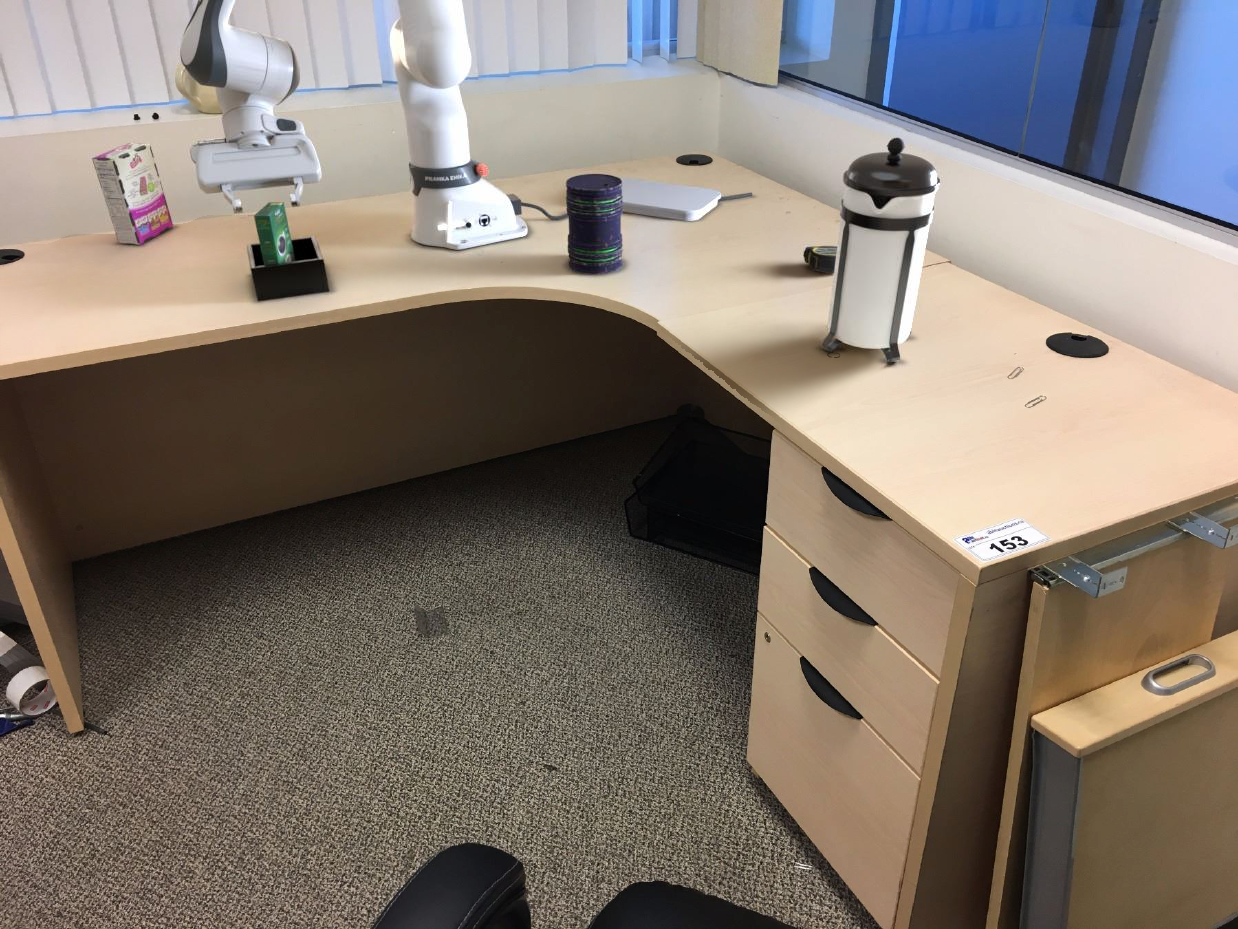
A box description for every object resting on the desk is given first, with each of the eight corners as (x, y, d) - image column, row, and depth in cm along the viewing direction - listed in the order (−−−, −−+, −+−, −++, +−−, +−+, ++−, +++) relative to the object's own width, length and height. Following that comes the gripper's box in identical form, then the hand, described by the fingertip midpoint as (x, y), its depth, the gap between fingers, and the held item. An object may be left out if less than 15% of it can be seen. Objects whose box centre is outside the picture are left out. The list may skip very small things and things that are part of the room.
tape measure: (839, 262, 170) (841, 242, 168) (850, 276, 164) (853, 255, 162) (802, 263, 170) (804, 243, 168) (811, 277, 164) (814, 256, 162)
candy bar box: (152, 225, 189) (128, 141, 180) (174, 227, 188) (152, 142, 179) (116, 244, 180) (90, 156, 171) (139, 245, 179) (114, 158, 170)
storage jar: (556, 265, 169) (553, 181, 161) (594, 251, 175) (593, 170, 167) (596, 279, 164) (594, 193, 156) (634, 264, 170) (634, 181, 162)
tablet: (696, 223, 189) (697, 212, 187) (582, 206, 198) (581, 195, 197) (724, 201, 201) (725, 190, 200) (615, 186, 211) (615, 176, 209)
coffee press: (943, 356, 137) (986, 146, 121) (845, 371, 134) (875, 155, 117) (883, 311, 151) (913, 117, 135) (792, 323, 148) (813, 125, 131)
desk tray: (320, 266, 169) (315, 235, 166) (329, 291, 159) (323, 259, 156) (253, 275, 166) (246, 244, 163) (257, 301, 156) (250, 268, 153)
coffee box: (283, 274, 166) (267, 200, 158) (299, 274, 166) (284, 200, 158) (268, 291, 159) (251, 215, 152) (285, 291, 159) (269, 215, 152)
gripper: (184, 130, 157) (199, 205, 154) (311, 120, 163) (327, 192, 161) (191, 151, 163) (205, 224, 160) (313, 141, 169) (328, 210, 167)
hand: (267, 208), depth 161 cm, fingers open, 8 cm apart
